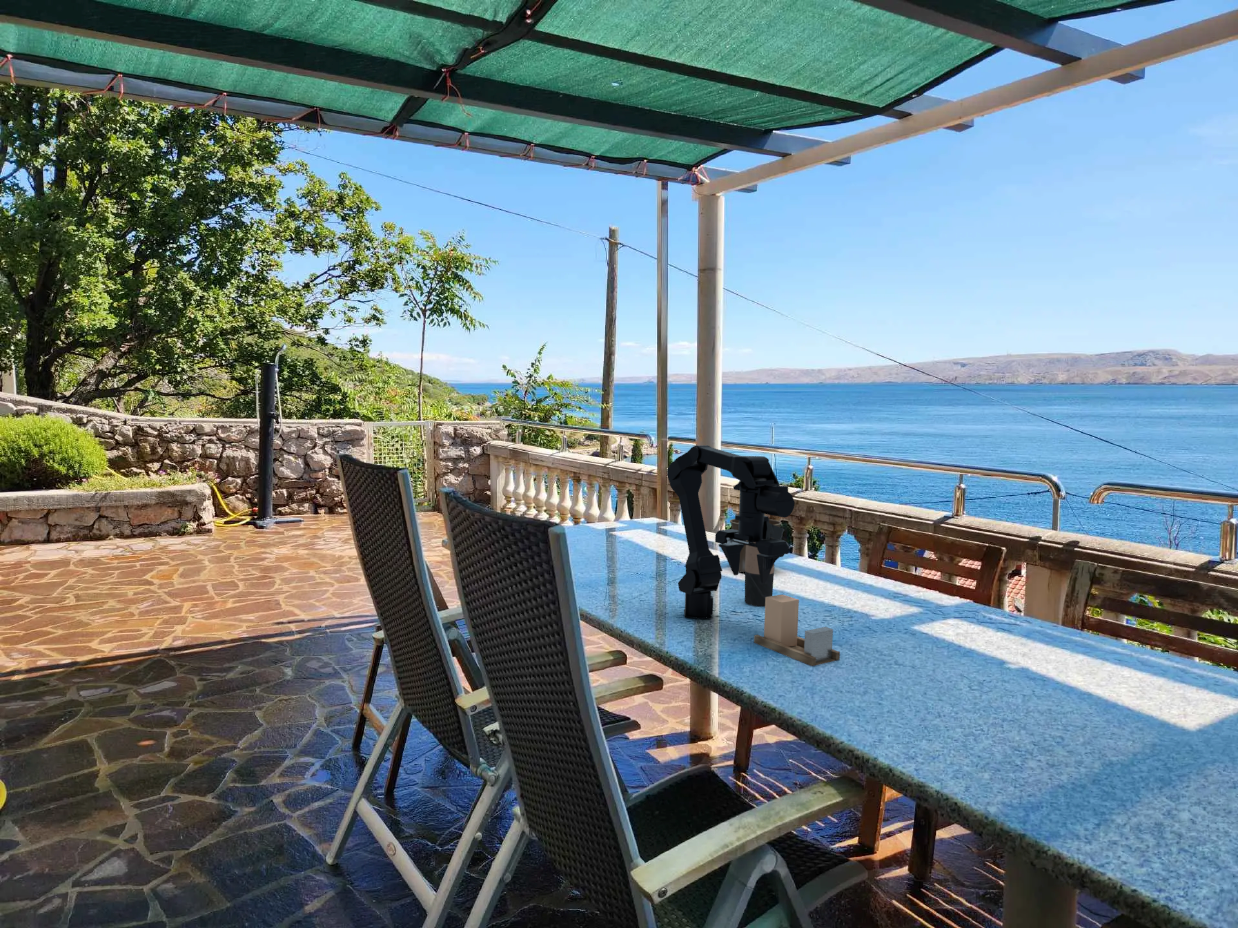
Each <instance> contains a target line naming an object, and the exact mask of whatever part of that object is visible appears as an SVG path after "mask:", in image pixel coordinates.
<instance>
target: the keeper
mask: <svg viewBox="0 0 1238 928" xmlns="http://www.w3.org/2000/svg"><path fill="white" fill-rule="evenodd" d="M799 604H800V599H798V598H795V597H791V596H788V595H785V594H777V595H772V596H769V597H766V598H765V607H764V625H763V626H764V627H763V628H764V631H763V637H765V638H767V639H770V640H773V641H775V642H778V643H780V644H783V645H785V646H788V647H790V646H795V645H797V636H798V627H799V608H800V607H799Z"/></svg>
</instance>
